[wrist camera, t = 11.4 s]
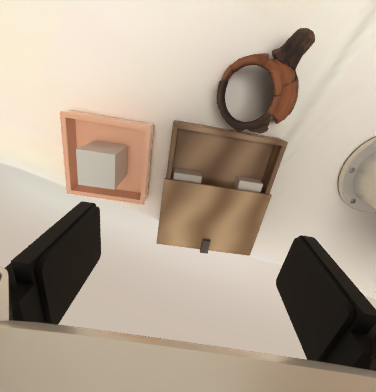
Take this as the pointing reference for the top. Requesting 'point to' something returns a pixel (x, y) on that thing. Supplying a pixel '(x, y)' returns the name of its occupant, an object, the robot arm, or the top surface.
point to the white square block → (248, 184)
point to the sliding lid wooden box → (217, 188)
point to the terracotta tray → (110, 132)
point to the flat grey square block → (187, 175)
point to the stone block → (102, 164)
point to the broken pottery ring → (281, 75)
